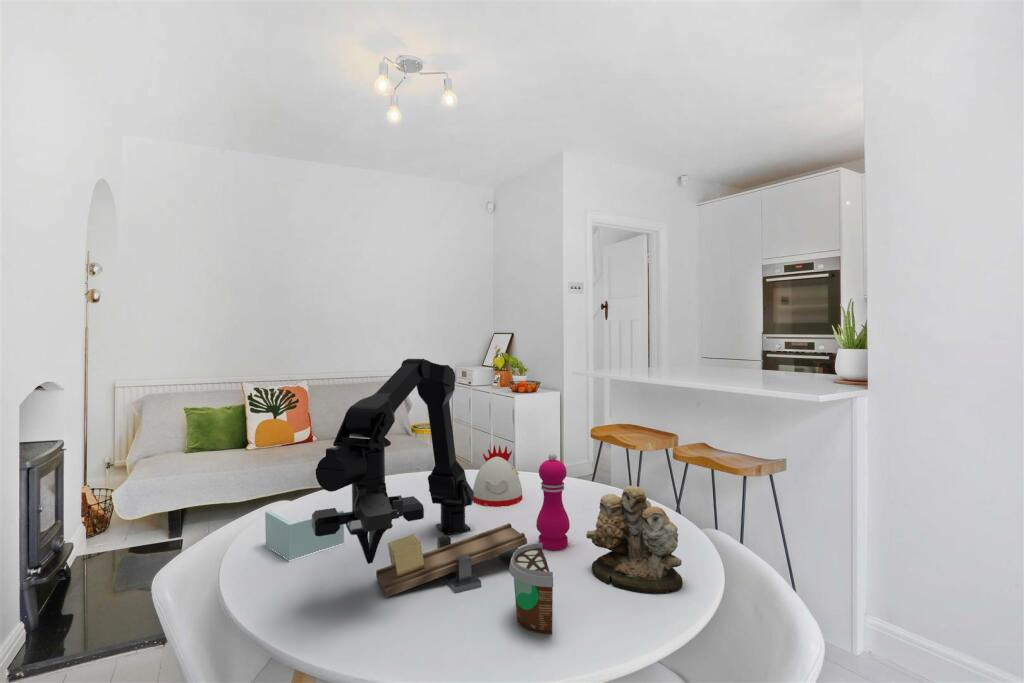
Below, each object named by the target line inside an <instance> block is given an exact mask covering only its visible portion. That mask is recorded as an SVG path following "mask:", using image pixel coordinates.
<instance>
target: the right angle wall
mask: <svg viewBox="0 0 1024 683" xmlns="http://www.w3.org/2000/svg"><path fill="white" fill-rule="evenodd" d="M337 512H338V514H339V513H345V512H344V509H337ZM264 515H265V516H264V518H265V519H264V520H265V523H264V524H265V547H267V546H268V547H269V548H268V547H267V548H268V549H270V548H271V549H273V550H274V551H276V552H277V553H279V554H280V555H282V556H284V557H285V558H287V559H288V560H292V559H295V558H298V557H301V556H304V555H307V554H310V553H313V552H316V551H319V550H322V549H326V548H329V547H332V546H336V545H339V544H342V543H344V544H345V529H344V528H345V524H343V525H340V529H339V530H338V531H337V532H336V534H331V535H325V536H315V534H314V531H313V528H312V517H309V518H305V519H301V520H296V521H293V522H291V521H290V520H288V519H286V518H285V517H283V516H281V515H279V514H277V513H276V512H274V511H272V510H266V511H265V513H264ZM271 549H270V550H271ZM273 550H272V551H273ZM274 551H273V552H274ZM276 552H275V553H276ZM277 553H276V554H277ZM279 554H278V555H279ZM280 555H279V556H280ZM282 556H281V557H282ZM285 558H284V559H285ZM288 560H287V561H288Z"/></svg>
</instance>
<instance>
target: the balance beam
mask: <svg viewBox="0 0 1024 683" xmlns="http://www.w3.org/2000/svg"><path fill="white" fill-rule="evenodd" d="M526 545H528V539H527V537H526V534H525V533H524V532H522V533H520V532H519V531H518V530H516V529H514V527H513V526H512V524H511V523H506V524H503V525H500V526H497V527H496V528H491V529H489V530H487V531H483V532H480V533H479V534H475V535H472V536H470V537H466V538H464V539H461V540H458V541H455V542H451V544H449V545H446V546H444V547H441V548H438V549H437V548H436V549H433V550H430V551H428V552H424V553H422V554H423V560H424V567H425V569H423V570H420V571H417V572H415V573H412V574H409V575H406V576H404V577H401V578H398V579H397V578H396V576H395V574H394V573H393V571H392V566H391V564H390V565H388V566H385V567H382V568H379V569H376V570H375V571H376V572H375V575H376V579H377V581H378V583H379V585H380V586H381V588H382V590H383V592H384V595H386V598H388V597H391V596H394V595H397V594H398V593H402V592H404V591H407V590H409V589H412V588H415V587H418V586H420V585H423V584H425V583H427V582H431V581H434V580H435V579H439V578H442V576H444V575H447V574H449V573H452V572H454V571H456V558H457V557H462V556H467V555H469V556H470V557H471V566H473V565H476V564H477V563H481V562H483V561H485V560H489V559H492V558H494V557H496V556H498V555H499V554H502V553H504V552H507V551H510V550H512V549H515V548H521V547H523V546H526Z"/></svg>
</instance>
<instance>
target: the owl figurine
mask: <svg viewBox="0 0 1024 683" xmlns="http://www.w3.org/2000/svg"><path fill="white" fill-rule="evenodd" d="M599 509H600V510H599V512H598V515H597V518H596V519H597V520H596V522H595V528H596V529H595V530H588V531H586V535H585V537H586V538H587V539H590V540H591V544H594V546H595V547H597V548H601V549H602V548H603V549H607V550H608V552H606V553H604V554H603V555H600V556H599V557H597V559H596V560H594V561H593V562H592V563H591V571H592V574H593V575H594V576H595V578H596V579H597V580H599V581H601V582H604V583H606V584H607V585H609V584H610V583H611V585H612V586H613V587H614V588H618V589H622V590H625V591H629V592H634V593H640V594H641V593H642V594H652V595H657V594H658V595H660V594H663V595H664V594H667V593H670V591H671V592H672V593H673V592H677V591H678V590H680V589H681V588H682V587H683V584H684V583H683V578H682V576H681V574H680V573H679V572H678V571H677V570H676V569H675V568H678V567H680V566H682V559H681V558H679V557H677V556H675V555H673V554H672V553H674V552H675V551H676V549H677V548H678V543H679V539H678V537H679V533H678V526H677V525H675V524H674V522H672V521H671V519H670V517H669V516H668V515H667V513H666V511H665V510H664V509H663V508H661V507H658V506H652V504H651V502H650V501H649V500H647V494H646V492H645V491H644V490H643V488H641V487H639V486H638V485H637V486H636V485H634V484H633V485H629V486H626V487H624V489H623V490H622V494H621V497H620V496H618V495H616V494H615V493H606V494H604V495H602V496H601V498H600V501H599ZM610 578H611V579H610Z"/></svg>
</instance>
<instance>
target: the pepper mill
mask: <svg viewBox="0 0 1024 683" xmlns="http://www.w3.org/2000/svg"><path fill="white" fill-rule="evenodd" d="M547 457H548V459H547V460H545V461H543V462H542V463H541V464H540V466H539V467H538V468H539V469H538V476H539V478H540V479H541V483H540V484H541V486H540V490H541V491H542V493H543V503H542V506H541V509H540V510H539V512H538V515H537V518H536V524H535V526H536V529H537V531H538V532H539V533H540V534H539V535H538V543H542V549H544V550H547V551H548V550H549V551H561V550H563V549H566V548H567V547H568V545H569V544H568V543H569V542H568V540H569V539H568V536H567V535H566V534H567V533H568V532H569V530H570V526H571V525H570V523H571V522H570V519H569V516H568V513H567V511H566V509H565V506H564V504H563V491H564V490H565V482H564V480H565V479H566V477H567V467H566V466H565V464H564V463H563V462H562V461H561V460H558V459H557V458H558V457H557V454H556V453H554V452H551V453H549V454H548V456H547Z"/></svg>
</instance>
